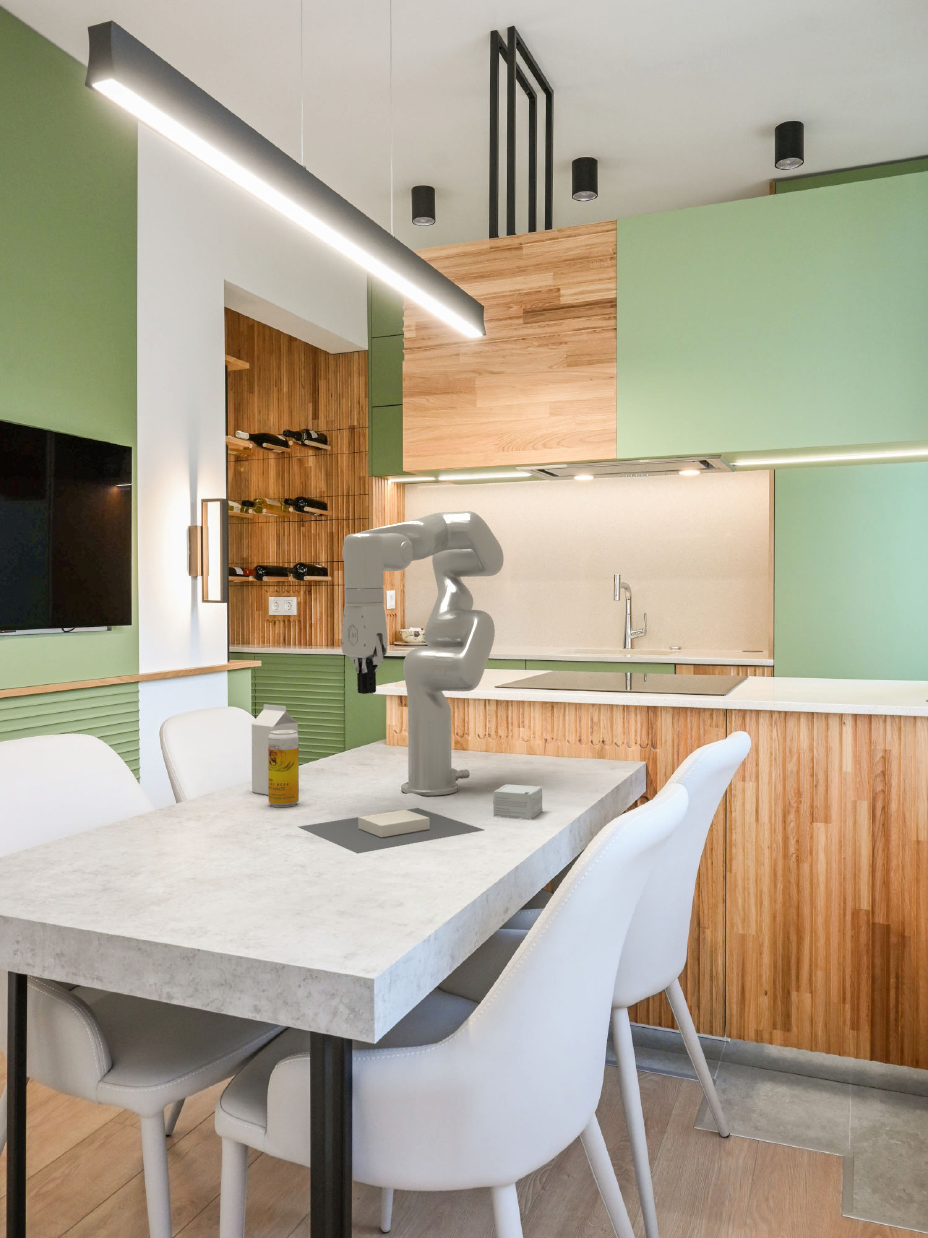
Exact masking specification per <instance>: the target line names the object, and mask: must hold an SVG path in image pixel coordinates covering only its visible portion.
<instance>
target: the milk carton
mask: <svg viewBox="0 0 928 1238" xmlns="http://www.w3.org/2000/svg"><path fill="white" fill-rule="evenodd" d="M275 730H295V731H297V735H298V736H299V724H298V721H297V720H296V719H295V718H293V717H292V716H291V715H290V713H289V712H288V711H287V706H285V705H276V704H267V703H266V704H265V703H264V704H263V710H261V712H260V713H259V714H258V715H257V717H256V718H254V720H253V722H252V723H251V792H252V793H255V794H256V793H257V794H262V795H268V737H269V735H270V732H271V731H275Z"/></svg>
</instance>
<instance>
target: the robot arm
mask: <svg viewBox="0 0 928 1238" xmlns="http://www.w3.org/2000/svg"><path fill="white" fill-rule="evenodd" d="M341 550H342V551H341V557H342V560H343V567H344V568H343V569H344V573H343V574H344V576H343V577H344V579H343V580H344V607H343V616H342V627H341V629H342V630H341V651H342V654H343V655H345V656H347V657H349V660H350V661H351V662H352V663H354V666H355V672H356V681H357V683H356V684H357V693H358V694H361V695H366V694H374V693H376V692H377V680H376V679H377V672H378V666H379V665H382V664H384V657H385V656H386V655H387V653H388V629H387V628H388V627H387V620H386V619H387V617H386V611H385V588H384V587H385V582H384V581H385V577H384V576H385V574H384V572H400V571H402V570H404V569H406V568H408V566H410V564H411V563H412V562H414V561H419V560H424V559H427V558H429V557H431V561H432V567H433V568H432V569H433V573H434V577H435V581H436V587H437V597H436V599H435V603H434V605H433V608H432V610H431V613H430V615H429V617H428V619H427V620H428V621H427V623H426V626H425V629H424V636H423V637H424V642H425V644H426V645H427V646H420V647H416V648H414V649H411V650H410V651H408V653H407V654H406V656H405V658H404V659H403V664H402V665H403V666H402V667H403V671H402V672H403V677H404V680H405V688H406V696H407V720H408V721H407V723H408V725H407V726H408V727H407V728H408V729H407V731H408V733H407V741H408V742H407V746H408V747H407V748H408V749H407V756H408V763H407V764H408V768H407V771H408V773H407V774H408V775H407V776H408V778H407V779H408V780H407V781H408V782H403V784H401V786H400V790H401V792H403V793H404V794H415V795H417V796H426V797H427V796H444V795H449V794H454V793H457V792H458V791H459V789H460V788H459V784H458V783H456V782H457V781H458V780H459V779H461V780H464V779H468V778H469V777H470V771H469V769H460V770H457V769H456V768H453V767H452V709H451V705H450V703H449V701H448V699H447V698H446V695H445V694H444V693H443V692H470V691H471V692H472V691H473V690H475V689H476V688H478V686H479V685H480V682H481V680H482V678H483V675H484V672H485V669H486V666H487V663H488V660H489V657H490V655H491V651H492V649H493V646H494V642H495V637H496V635H495V633H496V632H495V631H496V629H495V624H494V623H495V622H494V620H493V618H492V616H491V614H489V613H488V612H487V611H484V610H482V609H481V610H480V609H473V605H474V598H473V595H472V593H471V591H470V589H469V588H468V587H467V586H466V585H465V583H464V582H463V581H462V577H463V578H464V577H465V578H466V577H468V578H469V577H474V578H475V577H493V576H495V575H497V574H498V573H500V572H501V570H502V568H503V565H504V560H505V559H504V552H503V549H502V546H501V544H500V542H499V540H498V539H497V538H496V536H495V534H494V533H493V532H492V530H491V528H490V527H489V525H488V524H487V522H486V521H485V520H484V518H482V517H481V516H480V515H479V514H478V513H476V512H474V511H469V510H468V511H465V510H464V511H450V512H449V511H448V512H447V511H445V512H444V511H443V512H436V513H432V514H428V515H424V516H422V517H420V518H419V517H418V518H416V519H413V520H409V521H405V522H404V521H403V522H399V523H395V524H391V525H386V526H381V527H375V528H371V529H367V530H363V531H359V532H358V533H350V534H348V535H346V536H345V538H344V539H343V546H342V549H341Z"/></svg>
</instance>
